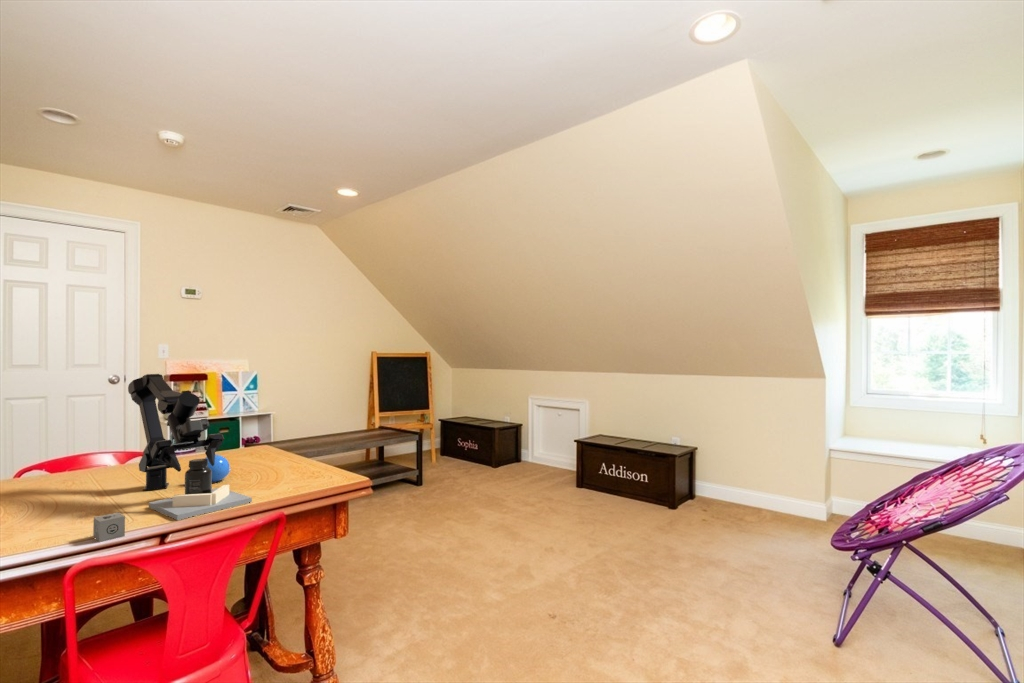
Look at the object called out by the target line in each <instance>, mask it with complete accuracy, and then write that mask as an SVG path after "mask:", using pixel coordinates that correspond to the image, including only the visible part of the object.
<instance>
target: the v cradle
mask: <svg viewBox="0 0 1024 683" xmlns="http://www.w3.org/2000/svg"><path fill="white" fill-rule="evenodd" d="M249 502H252V503H253V498H252V496H248V495H245V494H242V493H239V492H236V491H233V490H230V484H223V485H221V486H220V487H217V488H212V493H207V494H185V493H184V494H174V495H173V496H172V497H169V498H164V499H160V500H159V499H158V500H155V501H154V500H153V501H149V502H148V508H149V509H151V508H152V509H151V510H153V509H154V510H153V511H155V510H156V511H155V512H157V511H158V513H159V512H160V513H159V514H161V515H164V514H165V515H164V516H166V515H167V516H166V517H168V516H169V517H168V518H170V517H172V518H171V519H173V518H174V519H173V520H175V519H176V520H175V521H177V520H178V521H181V520H180V519H182V520H185V519H184V518H187V517H191V518H193V517H192V516H195V517H197V516H196V515H199V516H201V515H200V514H203V515H205V514H204V513H207V514H210V513H209V512H211V513H214V512H213V511H215V512H218V511H217V510H219V511H222V510H221V509H224V510H227V509H226V508H228V509H230V507H232V508H234V507H235V506H236V507H239V506H238V505H240V506H242V505H241V504H244V505H246V504H245V503H248V504H250V503H249ZM236 507H235V508H236ZM187 519H188V518H187Z"/></svg>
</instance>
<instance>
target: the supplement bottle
mask: <svg viewBox="0 0 1024 683" xmlns="http://www.w3.org/2000/svg"><path fill="white" fill-rule="evenodd" d="M207 465H208V459H205V458H195V459H190V460H188V468H189V469H188V470H186V471H185V473H184V495H185V494H207V493H212V489H213V488H212V487H213V486H212V485H213V484H212V483H213V482H212V471H211V469H210V468H208V467H207Z"/></svg>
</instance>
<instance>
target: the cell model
mask: <svg viewBox="0 0 1024 683" xmlns="http://www.w3.org/2000/svg"><path fill="white" fill-rule="evenodd" d="M204 459H208V458H207V456H206V457H204ZM207 467H208V468H210V469H211V471H212V483H216V482H220V481H222V480H223V479H225V478H226V477H227V476H228V475H229V474H230V472H231V470H232V467H230V463H229V460H228V459H227V458H226V457H225V456H222V455H219V454H215V464H214V466H212V465H211V464H210V462H209V460H208V465H207Z"/></svg>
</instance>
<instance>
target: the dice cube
mask: <svg viewBox="0 0 1024 683" xmlns="http://www.w3.org/2000/svg"><path fill="white" fill-rule="evenodd" d="M125 531H126V516H125V515H124V514H122V513H120V512H115V513H110V514H109V513H108V514H105V515H99V516H95V517H93V532H92V535H93V537H94V538H96V539H95V541H97V542H99V543H101V542H102V543H103V542H107V541H111V540H115V539H119V538H124V537H125V536H126V534H125V533H126V532H125ZM94 538H93V539H94Z"/></svg>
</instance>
